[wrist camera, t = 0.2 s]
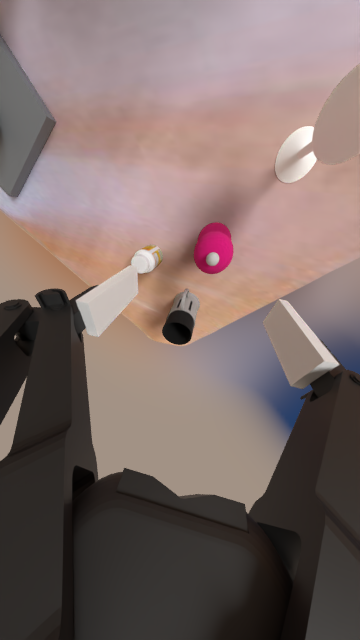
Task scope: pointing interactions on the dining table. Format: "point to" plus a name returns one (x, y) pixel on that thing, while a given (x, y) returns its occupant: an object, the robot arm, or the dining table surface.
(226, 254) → the pepper mill
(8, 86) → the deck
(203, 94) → the dining table surface
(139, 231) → the dining table surface
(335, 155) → the champagne flute
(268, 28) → the dining table surface
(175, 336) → the glass holder
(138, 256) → the supplement bottle
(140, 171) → the dining table surface
